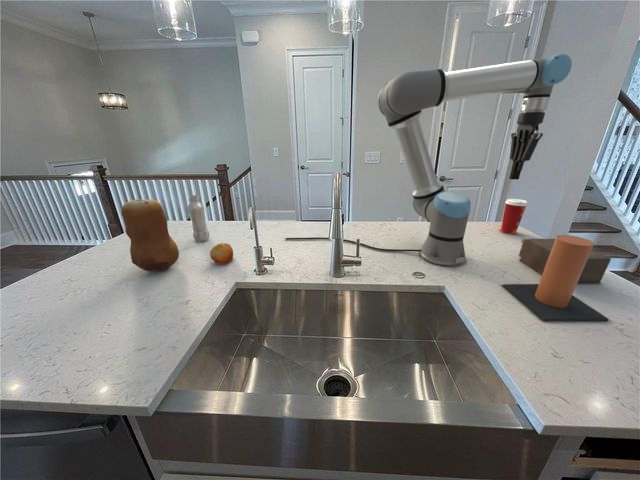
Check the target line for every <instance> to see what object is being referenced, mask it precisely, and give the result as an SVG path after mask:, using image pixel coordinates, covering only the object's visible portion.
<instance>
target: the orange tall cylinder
mask: <svg viewBox="0 0 640 480" xmlns="http://www.w3.org/2000/svg"><path fill="white" fill-rule="evenodd" d="M554 239H555V242H554V244H553V247H552V250H551V253H550V255H549V258H548V261H547V263H546V266H545V269H544V271H543V274H541V277H540V280H539V283H538V284H539V285H538V288H537V290H536V293H535V297H536V299H537V300H539V301H540V302H542V303H544V304H546V305H549V306H552V307H557V308H565V307H567V306H568V303H569V301H570V299H571V296H572V295H573V294H574V292H575V289H576V288H577V285H578V284H579V283H578V280H579V278H580V276H581V273H582V271H583V269H584V267H585V264H586V262H587V260H588V257H589V255H590V253H591V250H593V248H594V245H595V243H594V241H592V240H590V239H588V238H584V237H581V236H577V235H571V234H569V235H568V234H558V235H556V237H555V238H554Z"/></svg>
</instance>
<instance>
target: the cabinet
mask: <svg viewBox="0 0 640 480" xmlns="http://www.w3.org/2000/svg"><path fill="white" fill-rule="evenodd" d="M526 239H527V241H526V244H525V247H524V250H523V253H522V256H521V257H520V260H519V261H520V262H522V263H523V264H524V265H526V266H528V267H529V268H531V269H532V270H534V271H535V272H537V273H539V274H540V275H542V274H543V271H544V269H545V266H546V263H547V261H548V258H549V255H550V253H551V250H552V247H553V244H554V242H555V239H556V238H526ZM611 261H612V258H611V257H608V256H606V255H605V254H602V253H599V252H597V251H595V250H593V249H592V250H591V253H590V255H589V257H588V260H587V262H586V264H585V267H584V269H583V271H582V273H581V276H580V278H579V280H578V283H577V284H601V282H602V280H603V278H604V275H605V273H606V270H608V267H609V265H610V263H611Z"/></svg>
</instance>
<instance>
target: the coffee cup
mask: <svg viewBox="0 0 640 480" xmlns="http://www.w3.org/2000/svg"><path fill="white" fill-rule="evenodd" d="M504 203H505V205H504V211H503V215H502V221H501V225H500V232H501V233H502V234H507V235H516V233H517V231H518V228H519V226H520V223H521V221H522V218H523V215H524V213H525V210H526V207H527V206H528V201H527V200H525V199H519V198H507V199H506V201H505V202H504Z"/></svg>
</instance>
